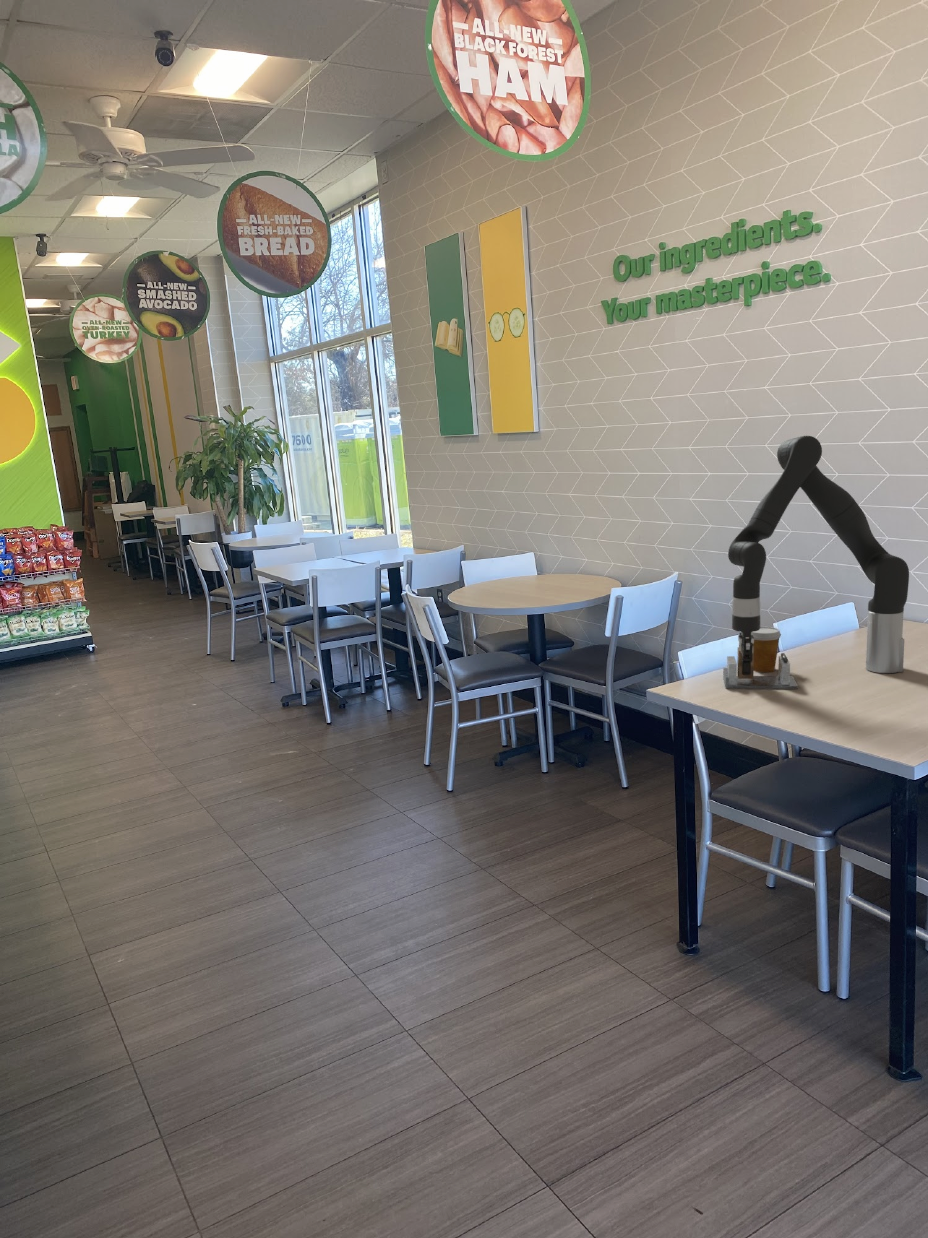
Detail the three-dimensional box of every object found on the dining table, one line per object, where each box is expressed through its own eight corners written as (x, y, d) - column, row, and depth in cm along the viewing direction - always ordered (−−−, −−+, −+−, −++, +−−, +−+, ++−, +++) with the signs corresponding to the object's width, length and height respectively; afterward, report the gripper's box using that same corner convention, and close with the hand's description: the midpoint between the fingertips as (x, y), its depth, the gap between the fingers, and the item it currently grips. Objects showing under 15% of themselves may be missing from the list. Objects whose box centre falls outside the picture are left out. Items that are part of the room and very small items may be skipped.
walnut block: (752, 674, 255) (752, 647, 253) (753, 678, 251) (753, 650, 249) (737, 674, 256) (737, 647, 254) (738, 678, 252) (738, 650, 250)
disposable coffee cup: (776, 664, 271) (776, 625, 268) (784, 673, 262) (784, 633, 259) (743, 665, 272) (743, 626, 269) (750, 674, 263) (750, 634, 260)
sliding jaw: (785, 676, 255) (786, 651, 254) (789, 685, 247) (790, 659, 246) (778, 676, 256) (778, 651, 254) (782, 684, 248) (782, 659, 246)
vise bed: (792, 678, 256) (793, 655, 254) (797, 689, 246) (798, 665, 245) (723, 678, 260) (723, 655, 258) (725, 688, 250) (725, 665, 249)
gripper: (763, 618, 242) (762, 679, 246) (757, 607, 256) (757, 666, 259) (734, 618, 244) (733, 679, 247) (730, 607, 257) (730, 665, 261)
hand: (745, 672), depth 253 cm, fingers closed on walnut block, 4 cm apart
